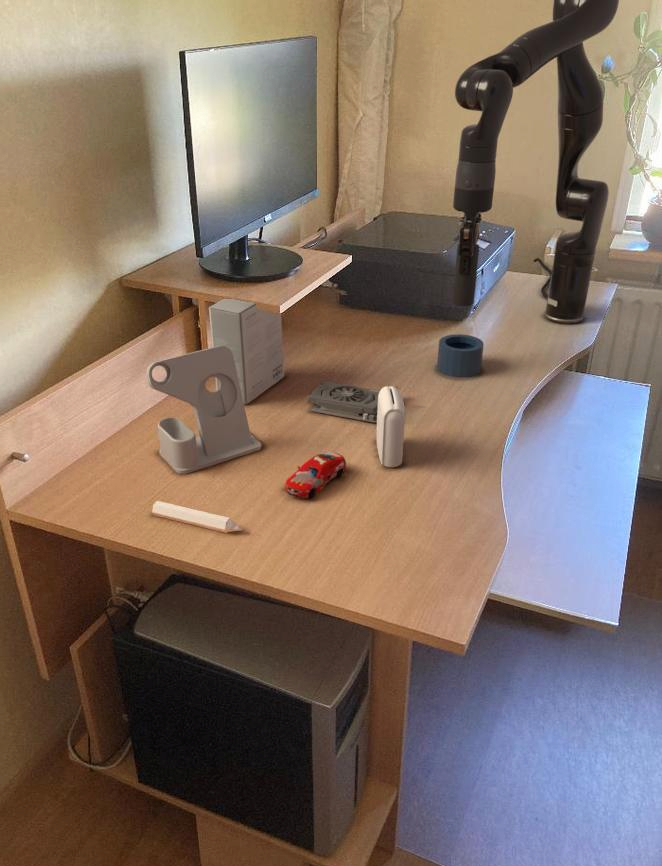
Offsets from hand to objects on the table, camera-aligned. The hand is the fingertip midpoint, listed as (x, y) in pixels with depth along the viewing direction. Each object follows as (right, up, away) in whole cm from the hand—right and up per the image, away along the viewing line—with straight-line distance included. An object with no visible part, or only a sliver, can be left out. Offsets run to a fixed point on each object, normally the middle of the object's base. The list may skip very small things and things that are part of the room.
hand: (466, 270), depth 161 cm
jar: (+1, -19, +11) cm, 22 cm away
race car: (-32, -44, -27) cm, 60 cm away
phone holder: (-51, -38, -17) cm, 66 cm away
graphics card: (-23, -28, -2) cm, 37 cm away
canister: (0, -6, +4) cm, 7 cm away
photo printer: (-18, -39, -19) cm, 47 cm away
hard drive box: (-45, -24, +5) cm, 51 cm away
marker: (-50, -51, -37) cm, 80 cm away
